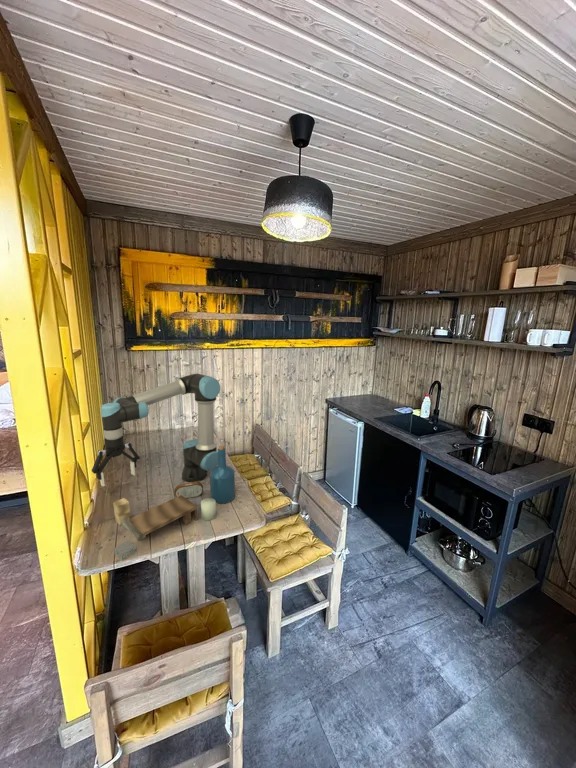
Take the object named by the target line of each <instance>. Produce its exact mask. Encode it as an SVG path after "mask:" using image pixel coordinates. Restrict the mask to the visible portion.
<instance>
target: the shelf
mask: <svg viewBox="0 0 576 768" xmlns="http://www.w3.org/2000/svg"><path fill="white" fill-rule="evenodd" d="M198 514H199V513H198V505H197V504H195V503H194V502H193V501H190V500H189V498H187V499H186V498H185V497H184V496H182V495H180V496H178V497H176V496H175V497H174V498H172V499H170V500H167V501H165V502H164V503H161V504H159V505H156V506H153V507H152V508H150V509H148V510H145V511H144V512H141V513H139V514H136V515H135V516H133V517H130V519H129V521H130V523H131V524H132V525H133V526H134V527H135V528H136V529H137V530H139V531H140V532H141V533H142V534H143V535H144V536H146V535H149V534H150V533H153V532H155V531H156V530H159V529H161V528H162V527H164V526H166V525H168V524H170V523H172V522H174V521H175V520H178V519H180V518H182V519H183V525H185V526H189V525H191V524H192V520H194V521H196V522H197V521H198V520H199V516H198Z"/></svg>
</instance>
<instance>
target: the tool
mask: <svg viewBox="0 0 576 768" xmlns="http://www.w3.org/2000/svg"><path fill="white" fill-rule="evenodd" d="M112 505H113V510H114V511H113V512H114V519H115V522H116V523H117V524H118V526H123V527H124V528H125V529H126V530H127V531H128V532H129V533H130V534H131V535H133V537H134V538H136V540H137V541H142V540H143V539H146V537H147V536H146V535H145V536H144V535H143V534H142V533H141V532H140V531H139V530H137V529H136V528H135V527H134V526H133V525H132V524H131V523H130V521H129V519H130V518H131V509H130V502H129V501H128V499H126V498H125V497H122V498H121V499H118V500H115V501H114V502H113V503H112Z"/></svg>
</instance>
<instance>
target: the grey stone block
mask: <svg viewBox="0 0 576 768" xmlns="http://www.w3.org/2000/svg"><path fill="white" fill-rule="evenodd" d="M113 553H114V555H115V556H116V557H118V558H119V559H120V560H121V559H122V560H121V561H124V560H126V559H127V558H129V557H130V556H132V555H134V554H135V553H137V545H135V544H134V543H132V542H131V541H130V540H126V541H124V542H123V543H121V544H119V545H118V546H116V547H114V548H113Z"/></svg>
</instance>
